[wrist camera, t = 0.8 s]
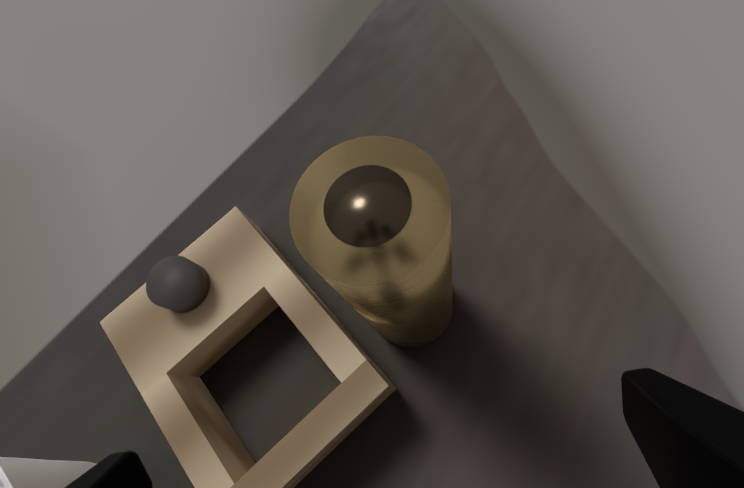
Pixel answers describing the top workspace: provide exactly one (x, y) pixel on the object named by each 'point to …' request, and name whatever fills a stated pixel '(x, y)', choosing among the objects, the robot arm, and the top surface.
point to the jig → (221, 333)
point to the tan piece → (380, 234)
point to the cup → (40, 472)
